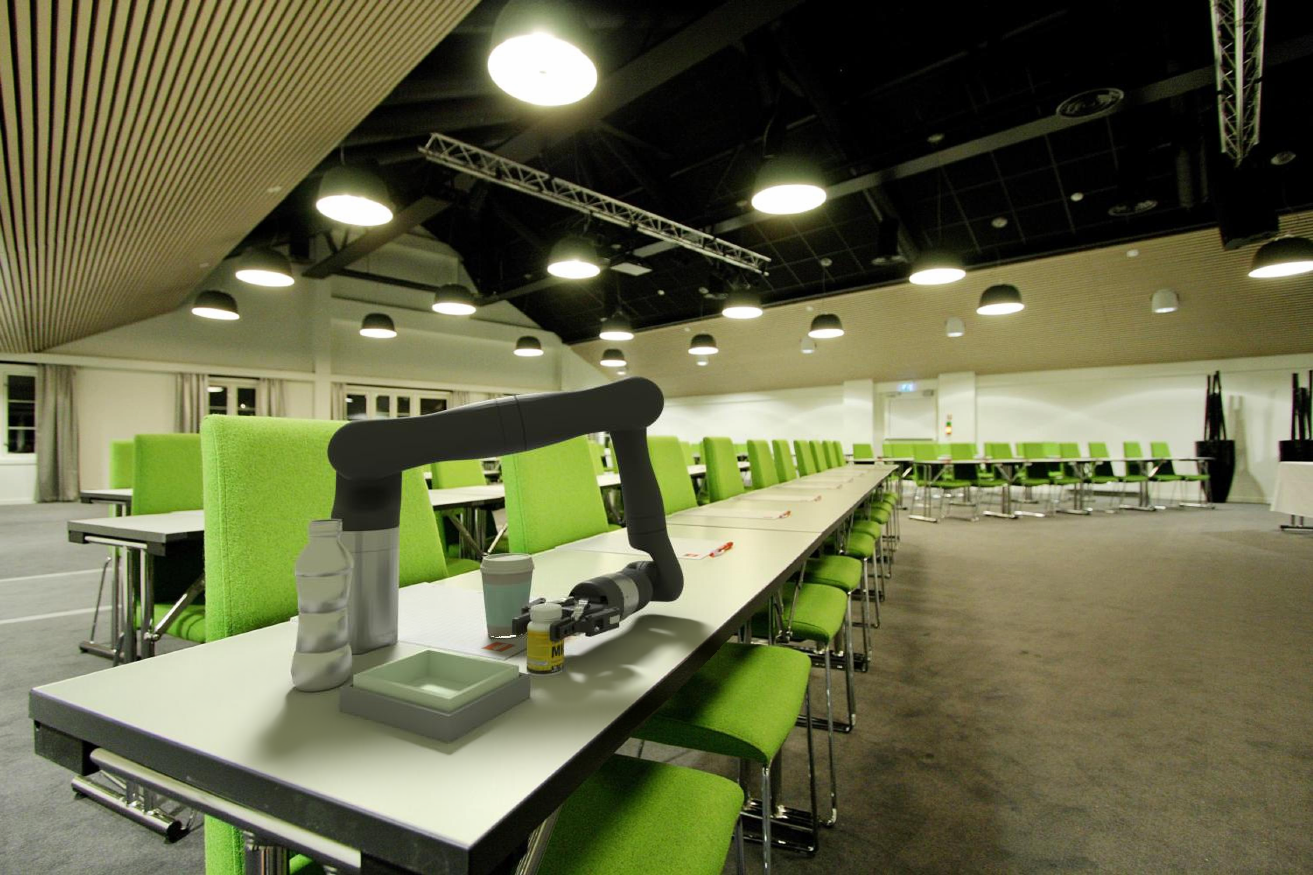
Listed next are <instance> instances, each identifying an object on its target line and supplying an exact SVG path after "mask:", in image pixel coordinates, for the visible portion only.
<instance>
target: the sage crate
mask: <svg viewBox="0 0 1313 875" xmlns="http://www.w3.org/2000/svg"><path fill="white" fill-rule="evenodd" d="M519 672H520V665H516V664H512V663H508V662H507V663H506V662H500V661H496V660H492V659H488V658H487V659H486V658H481V657H477V656H471V655H467V654H463V653H462V654H461V653H458V652H451V651H446V650H441V649H436V648H431V647H427V648H425V649H421V650H419V651H416V652H413V653H411V654H408V655H404V656H401V657H400V658H396V659H393V660H391V661H388V662H386V663H383V664H380V665H378V666H373V667H371V668H370V669H366V670H363V671H361V672H358V673H355V674H353V676H352V678H353V679H352V682H353V687H355V688H359V689H363V690H367V691H370V692H374V693H378V694H382V695H385V696H389V697H393V698H397V699H400V700H404V701H408V702H412V703H416V704H419V705H423V706H427V707H431V708H434V709H438V710H442V711H446V712H449V713H450V712H452V711H453V710H455V709H457V708H459V707H461V706H463V705H465V704H467V703H469V702H471V701H473V700H475V699H477V698H479V697H481V696H483V695H485V694H487V693H489V692H491V691H493V690H495V689H497V688H499V687H501V686H503V685H505V684H507V683H509V682H511V681H513V680H515V679H517V678H519Z"/></svg>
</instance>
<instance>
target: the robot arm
mask: <svg viewBox="0 0 1313 875" xmlns="http://www.w3.org/2000/svg"><path fill="white" fill-rule="evenodd" d="M664 397H665V396H664V393H663V391H662V390H661V388H660V387H659V385H657V384H656V382H654V381H653V380H650V379H649V378H646V377H643V376H639V375H632V376H631V375H630V376H626V377H624V378H621V379H618V380H616V381H612V382H609V383H605V384H601V385H597V386H593V387H590V388H585V389H579V390H569V391H568V390H567V391H565V390H563V391H562V390H561V391H546V392H534V393H525V394H516V395H515V394H514V395H510V396H504V397H498V398H491V399H488V400H487V399H486V400H483V401H477V402H472V403H468V404H465V405H459V406H456V407H452V408H449V409H446V410H442V411H438V412H434V413H428V414H422V415H415V416H403V417H402V416H401V417H391V418H387V417H386V418H364V419H363V418H362V419H356V420H352V421H350V422H347V423H345V424H343V425H342V426H341V427H339V428H338V429H337V430H336V431H335V432H334V433H333V435H331V438H330V440H329V441H328V445H327V459H328V462H329V464H330V465H331V467H332V469H334V471H335V490H334V492H335V493H334V500H333V505H332V509H331V513H330V519H342V530H343V535H340V538H341V541H342V542H343V543H344V544H345V546H346V547H347V548H348V550H349V551H350V553H351V554H352V557H353V560H354V568H353V574H352V580H351V586H350V592H349V605H348V630H349V643H350V646H351V651H352V655H353V654H364V653H371V652H374V651H378V650H380V649H383V648H386V647H390V646H393V645H394V644H396V643H397V642H398V640H399V638H398V636H399V601H400V600H399V599H400V598H399V593H400V592H399V591H400V589H399V586H400V585H399V584H400V536H401V535H400V534H401V533H400V529H401V528H400V525H401V509H402V492H403V490H402V489H403V488H402V487H403V472H404V471H408V470H411V469H414V468H415V469H416V468H419V467H422V466H427V465H431V464H435V463H436V464H437V463H442V462H453V461H454V462H456V461H458V462H459V461H473V460H483V459H491V458H499V457H504V456H510V455H515V454H520V453H521V454H522V453H526V452H529V451H534V450H537V449H541V448H542V449H543V448H545V447H549V446H553V445H556V444H561V443H564V442H566V441H570V440H573V439H575V438H579V437H582V436H585V435H586V436H587V435H590V434H596V433H597V434H598V433H603V432H604V433H606V432H608V434H609V437H610V441H611V443H612V447H613V452H614V456H615V460H616V463H617V464H616V465H617V468H618V469H617V470H618V475H619V482H620V488H621V494H622V501H623V502H622V503H623V510H624V517H625V518H624V519H625V526H626V532H627V534H626V535H627V540H628V544H629V546H630V548H632V549H634V550H637V551H641V552H644V553H646V554H648V555H649V556H650V557H651V559H652V560H637V561H632V562H630V563H628V564H626V566H624V567H623V568H622V569H621V570H619V571H615V572H613V573H606V574H602V575H599V576H596V577H593V578H590V579H587V580H584V581H581V582H579V583H577V584H575V586H573V587H572V589H571V590H570V592H569V594H568V596H563V597H560V599H557V600H556V599H555V600H552V601H547V599H546V598H544V597H539V598H537V599H535V600H533V601H531V602H529V604H527V605H525V606H523V607H522V612H521V615H520V616H518V617H515V618H513V620H512V634H513V635H516V636H518V637H520V636H519V635H521V634H523V635H525V634H527V626H528V624H529V622H530V621H532V620H531V619H530V609H531V607H532V606H534V605H538V604H546V603H553V604H559V605H561V606H562V617H561V618H560V619H561V620H559V621H557V622H554V623H552V624H551V625H550V641H551V642H558V641H560V640H562V639H564V640H565V639H567V638H569V637H571V636H572V637H579V636H581V635H584V636H585V637H588V638H592V637H595V636H598V635H600V634H603V633H606V632H610V631H612V630H615V629H619V628H620V623H622V622H623V621H625V620H626V619H627V618H629V617H630V616H631V615H633V614H636V613H638V612H639V611H641V610H642V609H644V608H645V607H646V606H647V605H648V604H649V603H650V602H651V603H652V602H655V603H659V602H661V603H671V602H675V601H677V600H678V599H679V598H680V597H681V595H682V593H683V591H684V587H685V586H684V585H685V579H684V573H683V570H682V569H683V568H682V566H681V564H680V562H679V559H678V557H677V555H676V553H675V550H674V548H673V545H672V543H671V542H672V541H671V540H670V535H669V533H668V528H667V526H668V525H667V520H666V512H665V505H664V504H665V503H664V499H663V495H662V492H661V488H660V486H659V482H658V479H657V477H656V473H655V470H654V467H653V464H652V461H651V457H650V453H649V452H650V451H649V446H648V435H647V434H648V430H647V429H648V427H649V428H650V426H652V425H653V424H654V423H656V421H657V420H659V418H660V417H661V415H662V413H663V410H664V406H665V398H664ZM524 633H525V634H524ZM521 636H522V635H521Z"/></svg>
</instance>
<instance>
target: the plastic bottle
mask: <svg viewBox="0 0 1313 875" xmlns="http://www.w3.org/2000/svg"><path fill="white" fill-rule="evenodd" d="M340 535H343V530H342V519H331V518H322V519H312V520H309V521H308V531H307V535H306V536H307V537H308V538H309V541H308V542H307V544H306V545H305V546H304V547H303V549H301V551H300V553H299V555H298V556H297V557H296V560H295V563H294V566H293V567H294V568H293V569H294V575H295V576H294V580H295V584H296V585H295V587H296V595H297V610H298V615H297V616H298V617H297V618H298V620H297V621H298V622H297V623H298V625H297V633H296V642H295V650H294V652H293V657H292V662H291V667H290V673H291V680H292V681H291V682H292V684H293V685H294V686H295V688H296V689H297V690H298V691H302V692H306V693H309V692H321V691H327V690H329V689H333V688H336V687H340V686H342V685H343V684H344V683H345V682H346V681H347V680H348V678H349V676H350V675H351V671H352V665H353V654H352V651H351V646H350V643H349V630H348V605H349V592H350V586H351V580H352V574H353V568H354V560H353V557H352V554H351V553H350V551H349V550H348V548H347V547H346V546H345V544H344V543H343V542H342V541H341V538H340Z"/></svg>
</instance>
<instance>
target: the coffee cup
mask: <svg viewBox="0 0 1313 875" xmlns="http://www.w3.org/2000/svg"><path fill="white" fill-rule="evenodd" d="M481 561H482V562H481V564H480V566H479V570H478V571H479V572H480V573H481V580H482V581H481V583H482V590H483V592H482V593H483V602H484V610H485V611H484V612H485V621H486V622H485V623H486V629H487V636H488V635H489V636H488V637H490V636H494V637H499V636H500V637H501V636H510V635H513V634H512V620H513V618H515V617H518V616H520V615H521V612H522V607H523V606H525V605H527V604H529V603H530V599H531V598H530V597H531V590H532V581H533V573H534V572H533V571H534V570H535V569H536V567H535V563H534V561H533V557H532V555H531V554H528V553H519V552H518V553H517V552H516V553H515V552H514V553H512V552H510V553H507V552H506V553H496V554H489V555H486V556H483V558H482V560H481Z"/></svg>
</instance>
